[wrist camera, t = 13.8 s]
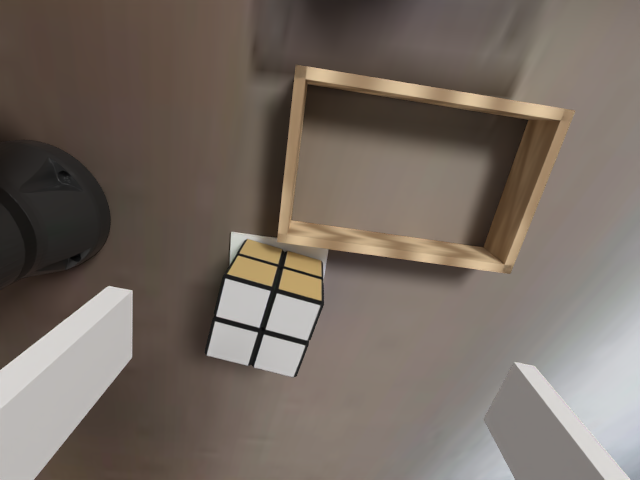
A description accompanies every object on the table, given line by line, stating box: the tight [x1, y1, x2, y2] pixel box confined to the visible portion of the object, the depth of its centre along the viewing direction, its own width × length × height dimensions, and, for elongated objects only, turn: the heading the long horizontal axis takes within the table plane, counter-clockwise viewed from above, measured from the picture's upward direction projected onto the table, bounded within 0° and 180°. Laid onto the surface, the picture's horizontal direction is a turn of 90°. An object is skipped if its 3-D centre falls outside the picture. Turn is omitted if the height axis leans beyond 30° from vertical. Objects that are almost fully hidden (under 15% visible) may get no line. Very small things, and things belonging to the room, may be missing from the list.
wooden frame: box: [277, 65, 575, 274], centre depth 35 cm, size 26×17×5 cm, turn 82°
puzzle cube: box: [205, 239, 324, 378], centre depth 37 cm, size 10×10×10 cm
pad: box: [230, 232, 329, 327], centre depth 42 cm, size 12×12×1 cm
